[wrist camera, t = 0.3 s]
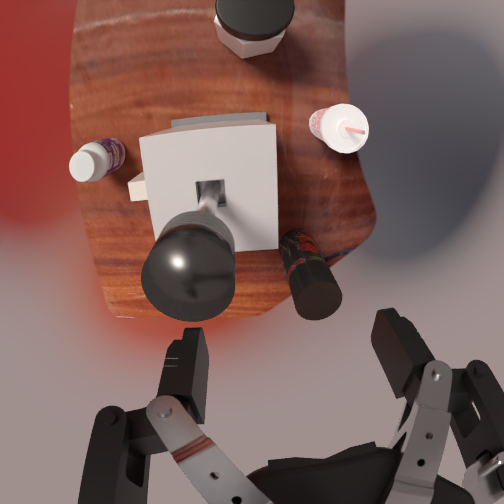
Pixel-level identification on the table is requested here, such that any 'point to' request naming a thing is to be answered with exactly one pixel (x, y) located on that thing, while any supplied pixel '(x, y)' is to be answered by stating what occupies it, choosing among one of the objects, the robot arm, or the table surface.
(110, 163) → the pill bottle
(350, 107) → the beverage cup
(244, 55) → the jar
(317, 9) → the table surface
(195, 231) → the plunger
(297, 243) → the deodorant
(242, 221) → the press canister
